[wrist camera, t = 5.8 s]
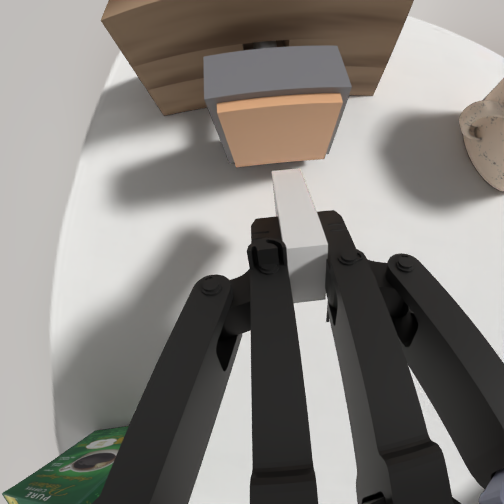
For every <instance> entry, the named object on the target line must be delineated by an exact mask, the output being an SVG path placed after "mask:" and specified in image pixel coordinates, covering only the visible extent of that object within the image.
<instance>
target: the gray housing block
mask: <svg viewBox="0 0 504 504" xmlns="http://www.w3.org/2000/svg"><path fill="white" fill-rule="evenodd" d="M253 47H254V49H252V50H244V51H236V52H229V53H222V54H216V55H210V56H205V57H203V60H204V100H205V103H206V105H207V108H208V110H209V113H210V115H211V118H212V120H213V123H214V125H215V128H216V130H217V133H218V135H219V138H220V140H221V143H222V146H223V148H224V151H225V153H226V156H227V158H228V161H229V163H235V165H236V167H244V166H253V165H262V164H271V163H281V162H292V161H304V160H317V159H324V158H325V155H326V154H329V151H330V148H331V145H332V143H333V140H334V137H335V134H336V131H337V129H338V126H339V123H340V120H341V117H342V114H343V111H344V109H345V106H346V103H347V100H348V97H349V94H350V91H351V88H352V86H351V83H350V80H349V77H348V74H347V71H346V68H345V66H344V63H343V60H342V57H341V54H340V52H339V49H338V46H289V47H277V44H276V41H265V42H254V43H253Z"/></svg>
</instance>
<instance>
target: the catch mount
mask: <svg viewBox="0 0 504 504" xmlns="http://www.w3.org/2000/svg"><path fill="white" fill-rule="evenodd" d="M413 1H414V0H109V1H108V4H107V6H106V9H105V11H104V14H103V16H102V19H101V22H102V23H103V25H104V26H105V28H106V29H107V31H108V32H109V33H110V35H111V37H112V38H113V40H114V41H115V43H116V44H117V46H118V47H119V49H120V50H121V52H122V53H123V55H124V56H125V58H126V59H127V61H128V62H129V64H130V65H131V67H132V68H133V70H134V71H135V73H136V74H137V76H138V77H139V79H140V80H141V82H142V83H143V85H144V86H145V88H146V89H147V91H148V92H149V94H150V95H151V97H152V98H153V100H154V101H155V103H156V104H157V106H158V107H159V109H160V111H161V112H162V114H163V115H164V116H166V115H170V114H175V113H180V112H185V111H190V110H196V109H201V108H207V105H206V103H205V100H204V60H203V57H205V56H210V55H216V54H222V53H229V52H236V51H244V50H252V49H254V47H253V43H254V42H265V41H276V44H277V47H289V46H338V49H339V52H340V54H341V57H342V60H343V63H344V66H345V68H346V71H347V74H348V77H349V80H350V83H351V86H352V88H351V91H350V94H349V95H365V96H373V94H374V92H375V90H376V88H377V86H378V83H379V81H380V79H381V77H382V74H383V72H384V70H385V68H386V65H387V63H388V61H389V58H390V56H391V54H392V52H393V49H394V47H395V45H396V42H397V40H398V38H399V35H400V33H401V30H402V28H403V26H404V23H405V21H406V18H407V16H408V13H409V11H410V8H411V6H412V3H413Z"/></svg>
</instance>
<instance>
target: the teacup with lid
mask: <svg viewBox="0 0 504 504" xmlns="http://www.w3.org/2000/svg"><path fill="white" fill-rule="evenodd" d="M459 125H460V128H461V131H462V133H463V137H464V143H465V146H466V150H467V152H468V155H469V157H470V159H471V161H472V163H473V165H474V166H475V168H476V169H477V171H478V172H479V174H480V175H481V176H482V177H483V178H484V179H485V180H486V181H487V182H488V183H489V184H490V185H491V186H493V187H494V188H496V189H497V190H500V191H503V192H504V78H503V79H502V80H501V81H500V82H499V84H498V85H497V86H496V87H495V88H494V89H493V90H492V91H491V92H490V93H489V94H488V95H487V96H486V97H485V98H484V99H483V100H482V101H478V102H475V103H472V104H470V105H469V106H468V107H466V108H465V109H464V110H463V112H462V113H461V115H460V118H459Z"/></svg>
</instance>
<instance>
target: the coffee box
mask: <svg viewBox="0 0 504 504" xmlns="http://www.w3.org/2000/svg"><path fill="white" fill-rule="evenodd" d="M128 427H129V426H125V427H118V428H112V429H105V430H98V431H94V432H93V433H92V434H90V435H89V436H87V437H85V438H84V439H83V440H81V441H80V442H78V443H77V444H76V445H74V446H73V447H71V448H70V449H68V450H67V451H65V452H64V453H63V454H61V455H60V456H58V457H57V458H55V459H54V460H53V461H51V462H50V463H48V464H47V465H45V466H44V467H42V468H41V469H39V470H38V471H36V472H35V473H33V474H32V475H30V476H29V477H27V478H26V479H24V480H23V481H21V482H19V483H18V484H16V485H15V486H13V487H12V488H10V489H8V490H7V491H5V492H3V493H2V495H3V496H4V498H5V499H6V501H7V502H8V504H92V503H93V502H94V501H95V500H96V499H97V498H98V497H99V496H100V494H101V492H102V489H103V487H104V484H105V482H106V479H107V477H108V474H109V472H110V470H111V467H112V465H113V462H114V460H115V457H116V455H117V453H118V450H119V448H120V446H121V443H122V441H123V439H124V436H125V434H126V432H127V429H128Z"/></svg>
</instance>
